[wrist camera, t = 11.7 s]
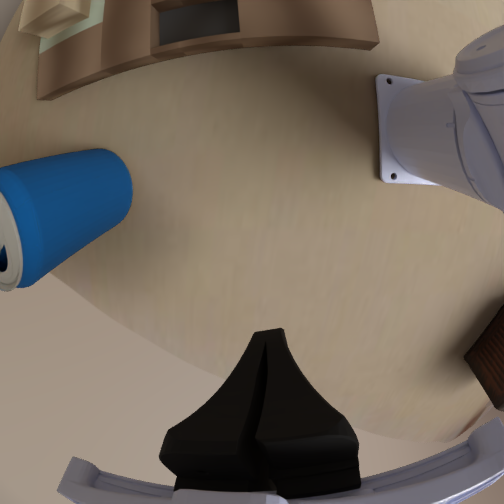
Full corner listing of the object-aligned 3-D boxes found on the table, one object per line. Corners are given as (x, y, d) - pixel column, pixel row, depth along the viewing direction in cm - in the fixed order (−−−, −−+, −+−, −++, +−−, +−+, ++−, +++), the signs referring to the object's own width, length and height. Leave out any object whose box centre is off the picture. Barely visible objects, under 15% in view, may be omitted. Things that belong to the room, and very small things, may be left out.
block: (94, -21, 11) (69, -37, 7) (89, 17, 12) (59, 3, 9) (54, 1, 11) (27, -10, 8) (48, 38, 13) (18, 31, 9)
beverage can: (76, 223, 21) (-23, 286, 10) (73, 150, 19) (-44, 177, 8) (138, 228, 21) (40, 311, 10) (138, 146, 19) (15, 168, 7)
